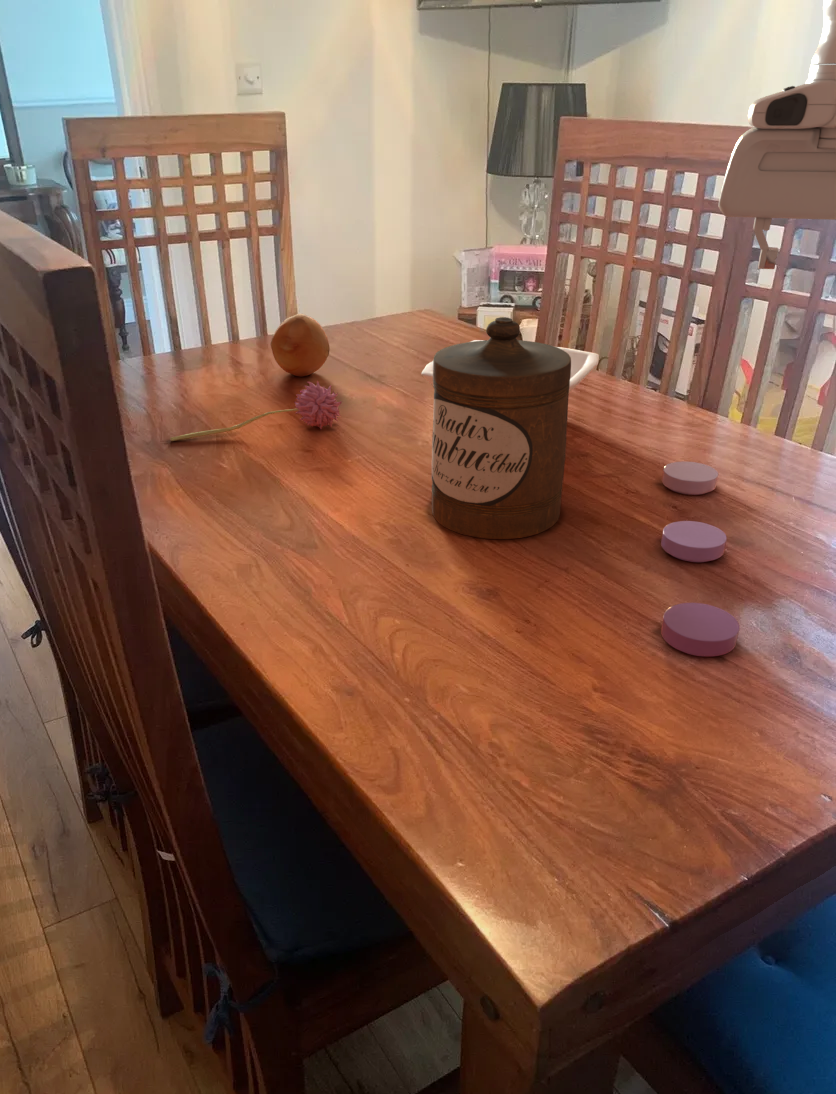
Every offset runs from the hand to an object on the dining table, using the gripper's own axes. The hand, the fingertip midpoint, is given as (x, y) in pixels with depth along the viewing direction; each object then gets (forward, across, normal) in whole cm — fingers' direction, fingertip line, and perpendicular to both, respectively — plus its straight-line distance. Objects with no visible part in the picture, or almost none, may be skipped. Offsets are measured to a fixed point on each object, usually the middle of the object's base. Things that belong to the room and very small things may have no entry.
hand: (818, 270), depth 82 cm
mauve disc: (+27, +6, +26) cm, 38 cm away
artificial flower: (+27, +67, -11) cm, 73 cm away
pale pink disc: (+27, +8, -9) cm, 30 cm away
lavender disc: (+27, +7, +8) cm, 29 cm away
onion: (+27, +73, -40) cm, 88 cm away
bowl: (+27, +34, -27) cm, 51 cm away
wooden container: (+27, +29, +5) cm, 40 cm away
